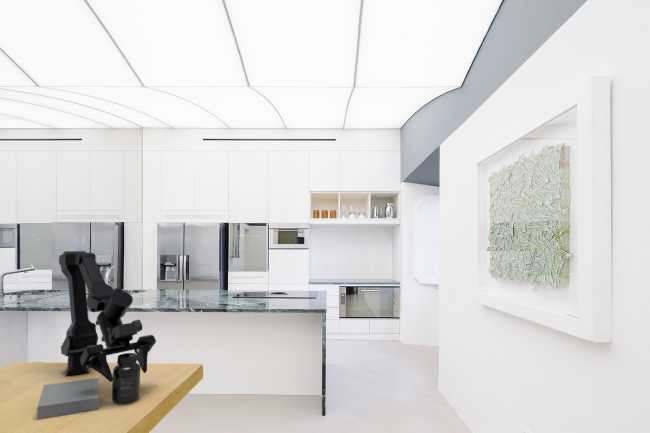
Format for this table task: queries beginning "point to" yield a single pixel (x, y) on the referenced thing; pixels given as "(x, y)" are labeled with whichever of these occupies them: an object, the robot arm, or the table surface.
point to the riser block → (68, 398)
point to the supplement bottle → (126, 379)
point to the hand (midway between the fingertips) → (129, 376)
